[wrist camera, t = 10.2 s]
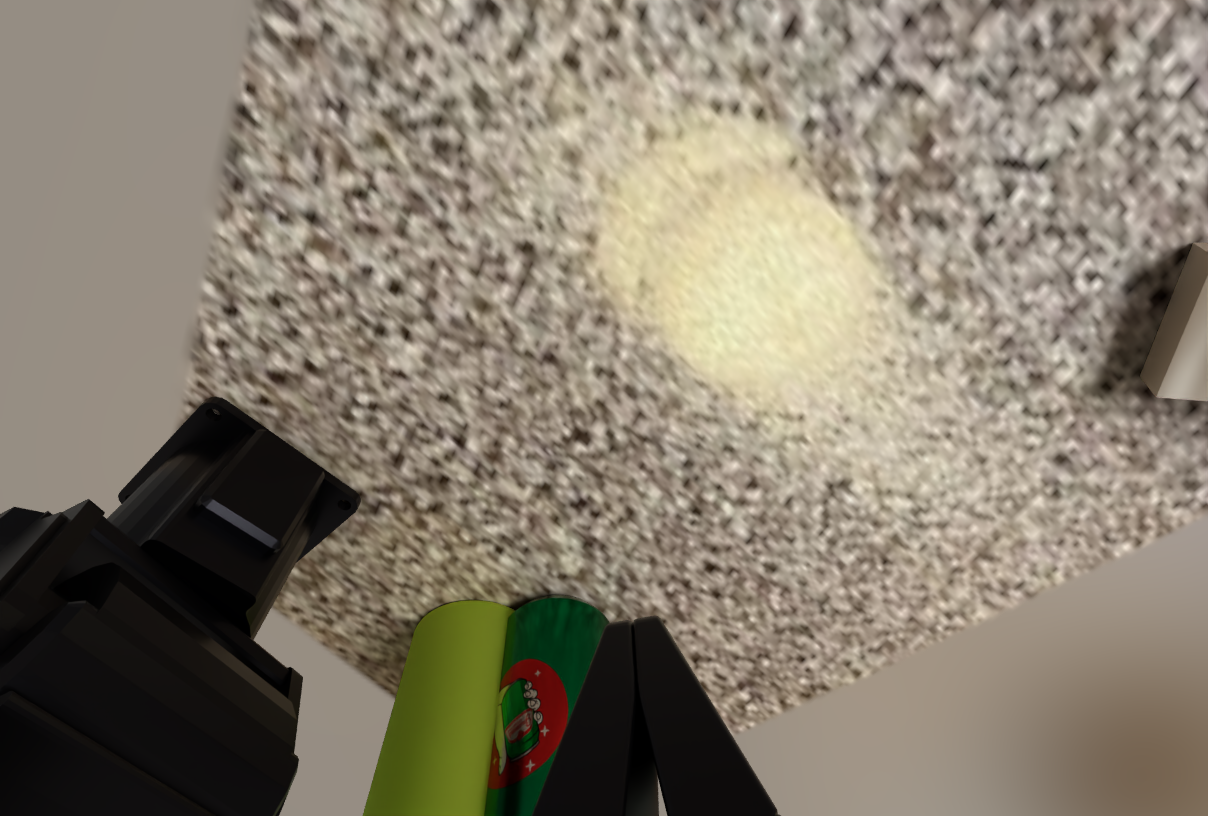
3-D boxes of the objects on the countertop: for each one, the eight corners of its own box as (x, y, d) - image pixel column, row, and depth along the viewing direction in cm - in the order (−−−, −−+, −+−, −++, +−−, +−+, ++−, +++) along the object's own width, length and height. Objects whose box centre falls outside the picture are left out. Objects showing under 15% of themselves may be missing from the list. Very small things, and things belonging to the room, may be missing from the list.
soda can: (606, 663, 30) (623, 990, 19) (502, 660, 29) (461, 993, 19) (617, 589, 27) (642, 919, 17) (502, 585, 27) (456, 921, 16)
